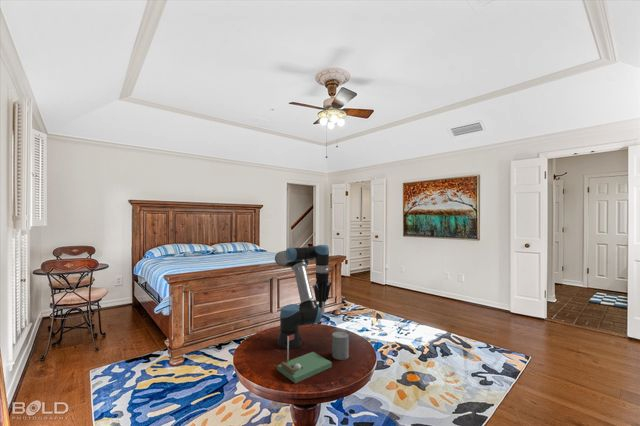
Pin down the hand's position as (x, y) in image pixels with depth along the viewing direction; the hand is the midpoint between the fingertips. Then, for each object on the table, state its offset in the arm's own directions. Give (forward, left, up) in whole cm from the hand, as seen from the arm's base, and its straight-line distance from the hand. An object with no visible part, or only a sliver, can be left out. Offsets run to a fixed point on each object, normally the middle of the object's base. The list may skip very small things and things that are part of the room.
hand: (321, 312), depth 176 cm
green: (+6, -17, -24) cm, 30 cm away
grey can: (+8, +7, -25) cm, 27 cm away
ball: (+6, -22, -22) cm, 32 cm away
